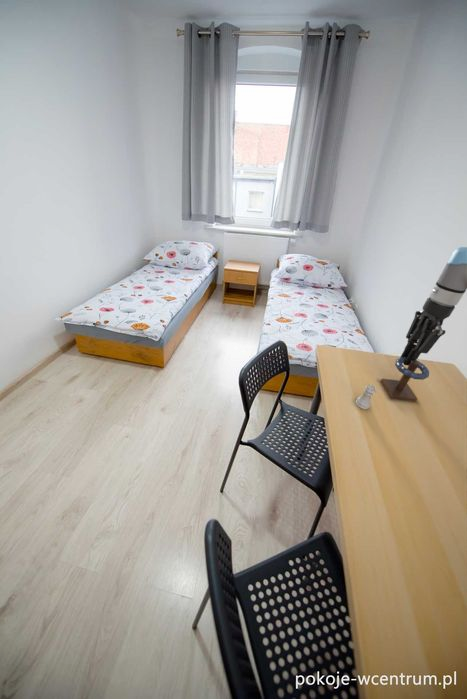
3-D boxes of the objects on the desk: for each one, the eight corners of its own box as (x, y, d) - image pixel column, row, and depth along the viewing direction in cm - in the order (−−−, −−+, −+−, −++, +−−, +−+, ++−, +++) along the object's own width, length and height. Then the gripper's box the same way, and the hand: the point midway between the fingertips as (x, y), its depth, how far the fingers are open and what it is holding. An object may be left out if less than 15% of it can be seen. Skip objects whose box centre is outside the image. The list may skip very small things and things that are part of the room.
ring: (417, 361, 99) (420, 357, 97) (433, 382, 90) (437, 377, 89) (389, 359, 98) (391, 354, 97) (403, 379, 90) (406, 374, 88)
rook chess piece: (352, 403, 92) (361, 385, 88) (359, 398, 95) (368, 380, 90) (364, 411, 90) (374, 394, 85) (371, 406, 92) (381, 388, 87)
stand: (403, 384, 104) (422, 355, 96) (415, 401, 96) (436, 372, 88) (380, 381, 103) (396, 352, 96) (390, 398, 96) (408, 369, 88)
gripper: (417, 289, 90) (386, 348, 103) (444, 311, 77) (405, 375, 91) (439, 292, 90) (406, 350, 104) (470, 314, 77) (427, 377, 91)
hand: (405, 362), depth 97 cm, fingers closed on ring, 2 cm apart
